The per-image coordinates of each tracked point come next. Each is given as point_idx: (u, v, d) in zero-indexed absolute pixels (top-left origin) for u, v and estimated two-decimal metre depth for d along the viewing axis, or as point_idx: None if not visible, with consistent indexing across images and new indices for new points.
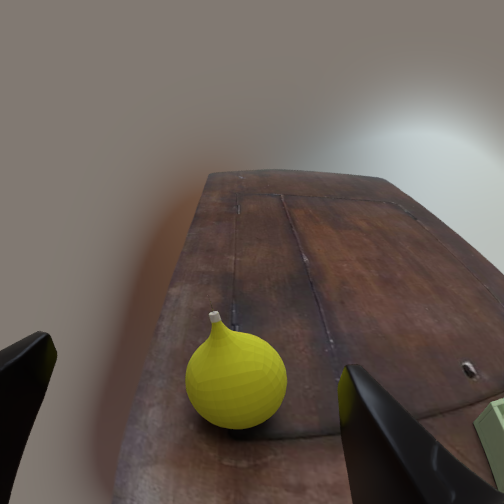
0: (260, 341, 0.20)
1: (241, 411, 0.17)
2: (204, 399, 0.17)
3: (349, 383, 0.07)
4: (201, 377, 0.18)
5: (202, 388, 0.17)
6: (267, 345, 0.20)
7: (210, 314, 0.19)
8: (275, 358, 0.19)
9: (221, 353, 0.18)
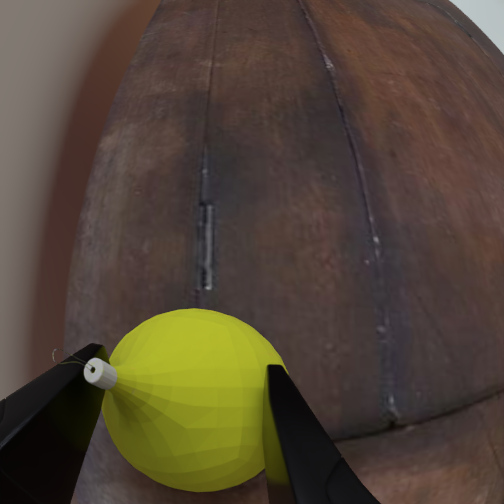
0: (234, 376, 0.08)
1: (206, 491, 0.08)
2: None
3: (266, 383, 0.07)
4: (122, 451, 0.07)
5: (130, 463, 0.08)
6: (252, 378, 0.08)
7: (86, 374, 0.06)
8: None
9: (143, 434, 0.07)
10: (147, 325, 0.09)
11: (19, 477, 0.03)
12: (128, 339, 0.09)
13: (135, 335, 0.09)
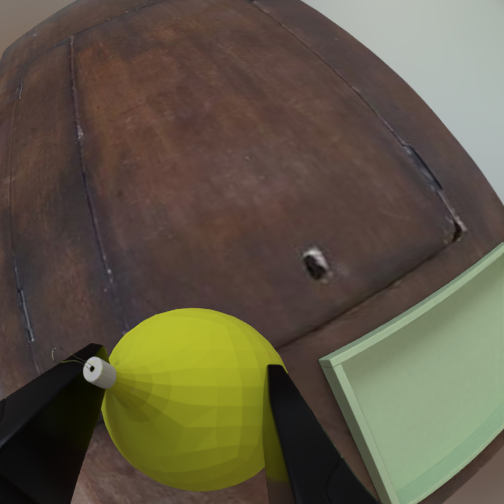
0: (234, 375, 0.08)
1: None
2: None
3: (266, 383, 0.07)
4: (121, 450, 0.07)
5: (130, 462, 0.08)
6: (252, 377, 0.08)
7: (86, 373, 0.06)
8: None
9: (142, 433, 0.07)
10: (146, 324, 0.09)
11: (19, 477, 0.03)
12: (128, 338, 0.09)
13: (134, 334, 0.09)
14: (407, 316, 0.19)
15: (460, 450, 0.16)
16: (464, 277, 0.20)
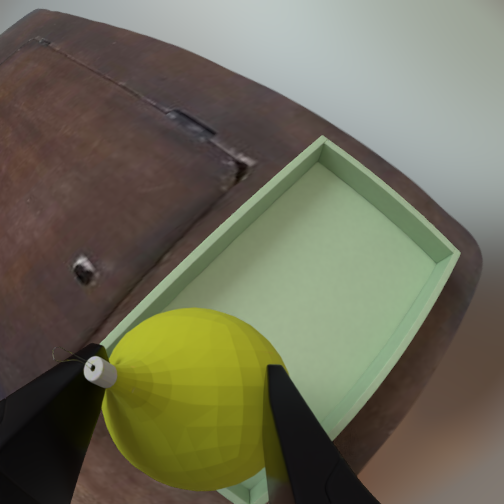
0: (235, 375, 0.08)
1: None
2: None
3: (266, 383, 0.07)
4: (122, 450, 0.07)
5: (130, 462, 0.08)
6: (252, 377, 0.08)
7: (86, 373, 0.06)
8: None
9: (143, 433, 0.07)
10: (147, 324, 0.09)
11: (19, 477, 0.03)
12: (128, 338, 0.09)
13: (135, 334, 0.09)
14: (152, 292, 0.18)
15: (324, 424, 0.17)
16: (227, 220, 0.20)
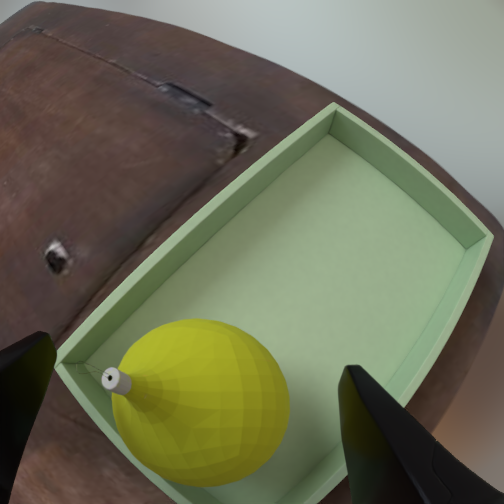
0: (235, 382, 0.09)
1: (209, 486, 0.09)
2: (148, 468, 0.09)
3: (349, 383, 0.07)
4: (132, 450, 0.08)
5: (139, 461, 0.09)
6: (252, 383, 0.09)
7: (104, 382, 0.07)
8: (268, 412, 0.09)
9: (153, 434, 0.08)
10: (155, 334, 0.10)
11: None
12: (137, 347, 0.10)
13: (144, 344, 0.10)
14: (127, 279, 0.14)
15: None
16: (222, 191, 0.16)
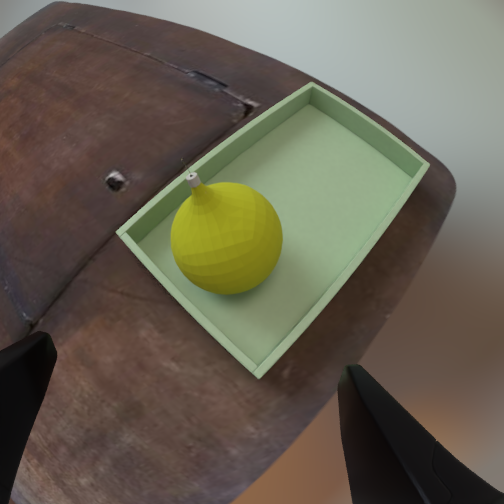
0: (251, 198, 0.17)
1: (231, 285, 0.17)
2: (191, 273, 0.17)
3: (349, 383, 0.07)
4: (185, 250, 0.17)
5: (187, 262, 0.17)
6: (259, 202, 0.17)
7: (187, 178, 0.15)
8: (269, 219, 0.17)
9: (204, 222, 0.16)
10: None
11: None
12: None
13: None
14: (178, 177, 0.22)
15: (324, 292, 0.21)
16: (239, 130, 0.24)
